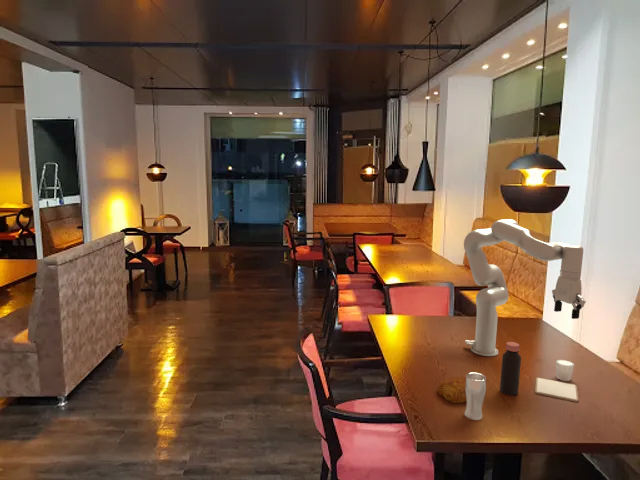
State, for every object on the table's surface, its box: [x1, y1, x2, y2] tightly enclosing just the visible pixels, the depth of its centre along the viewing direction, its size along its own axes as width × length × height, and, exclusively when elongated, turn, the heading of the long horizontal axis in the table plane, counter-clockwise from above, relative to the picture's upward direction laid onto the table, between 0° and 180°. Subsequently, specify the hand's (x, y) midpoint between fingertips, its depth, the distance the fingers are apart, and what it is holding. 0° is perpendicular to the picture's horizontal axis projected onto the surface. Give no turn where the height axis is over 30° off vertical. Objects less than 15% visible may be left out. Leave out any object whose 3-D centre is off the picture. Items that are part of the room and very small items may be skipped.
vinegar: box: [499, 341, 522, 397], centre depth 186 cm, size 7×7×20 cm
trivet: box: [534, 376, 579, 403], centre depth 190 cm, size 15×15×1 cm
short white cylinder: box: [555, 359, 575, 382], centre depth 201 cm, size 7×7×7 cm
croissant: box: [437, 376, 466, 404], centre depth 184 cm, size 14×16×8 cm
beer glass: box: [464, 372, 487, 421], centre depth 168 cm, size 7×7×15 cm
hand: (566, 314), depth 197 cm, fingers open, 9 cm apart
